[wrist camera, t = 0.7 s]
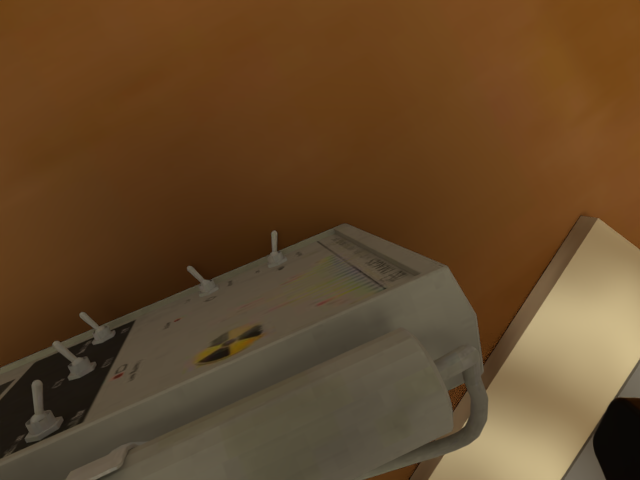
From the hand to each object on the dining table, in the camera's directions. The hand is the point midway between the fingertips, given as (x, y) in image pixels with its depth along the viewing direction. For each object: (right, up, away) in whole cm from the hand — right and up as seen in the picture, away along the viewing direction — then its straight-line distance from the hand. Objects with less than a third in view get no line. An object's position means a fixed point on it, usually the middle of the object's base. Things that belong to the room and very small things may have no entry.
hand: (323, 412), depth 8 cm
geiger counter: (-9, -3, +15) cm, 18 cm away
